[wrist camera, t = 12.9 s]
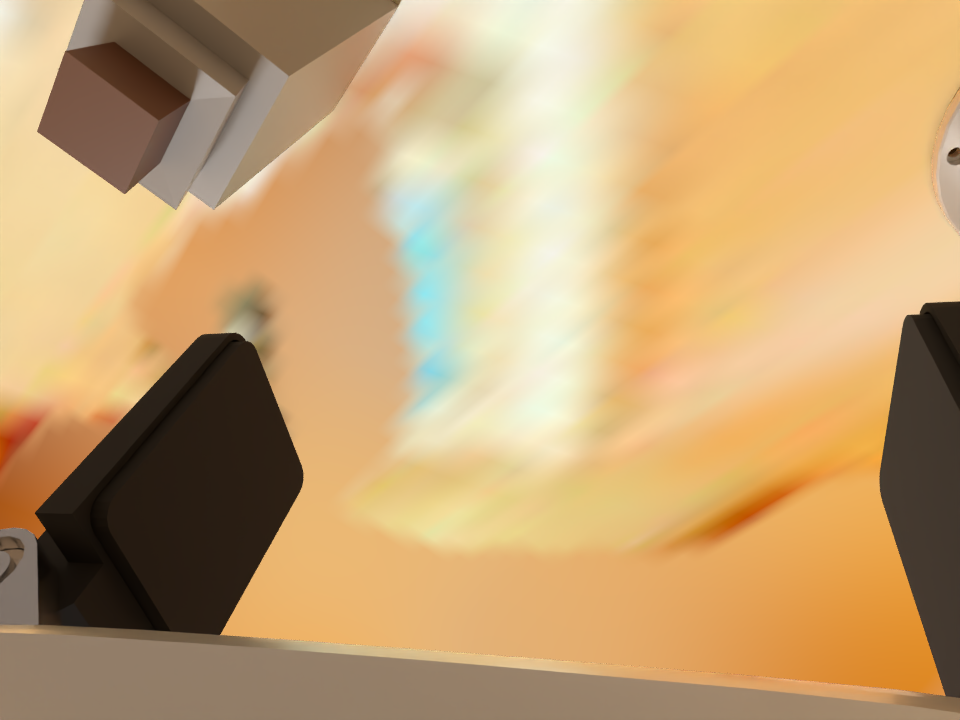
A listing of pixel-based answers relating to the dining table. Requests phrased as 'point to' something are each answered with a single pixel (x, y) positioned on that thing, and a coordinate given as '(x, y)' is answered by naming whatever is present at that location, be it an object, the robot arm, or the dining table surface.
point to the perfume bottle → (202, 86)
